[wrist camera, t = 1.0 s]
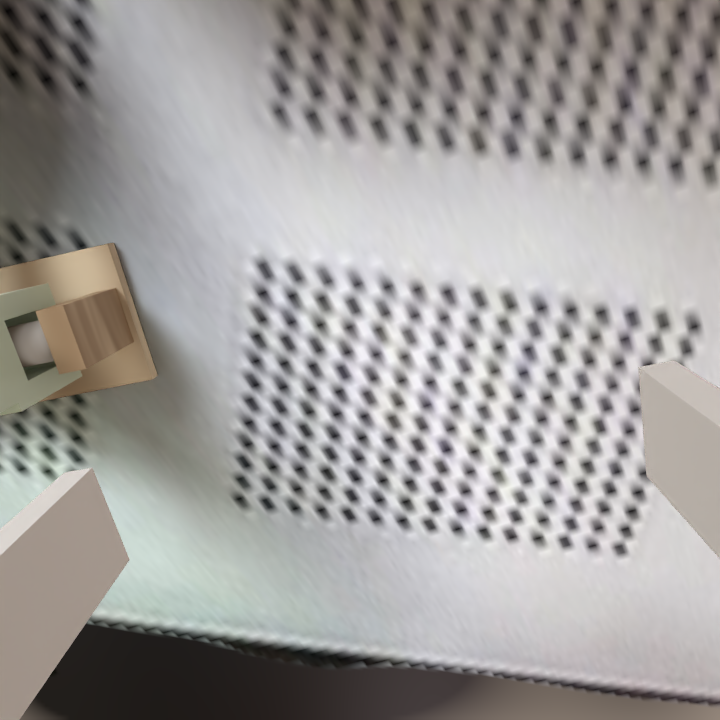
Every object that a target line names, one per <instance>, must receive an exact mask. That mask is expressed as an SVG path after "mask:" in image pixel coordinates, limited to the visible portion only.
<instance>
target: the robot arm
mask: <svg viewBox="0 0 720 720" xmlns="http://www.w3.org/2000/svg"><path fill="white" fill-rule="evenodd" d="M638 369H639V382H640V395H641V408H642V421H643V434H644V447H645V460H646V473H647V477H648V478H649V479H650V480H651V481H652V483H653V484H654V485H655V486H656V487H657V488H658V489H659V490H660V492H661V493H662V494H663V495H664V496H665V497H666V498H667V500H668V501H669V502H670V503H671V504H672V505H673V506H674V507H675V509H676V510H677V511H678V512H679V513H680V514H681V515H682V517H683V518H684V519H685V520H686V521H687V522H688V523H689V524H690V526H691V527H692V528H693V529H694V530H695V531H696V532H697V534H698V535H699V536H700V537H701V538H702V539H703V540H704V541H705V543H706V544H707V545H708V546H709V547H710V548H711V549H712V550H713V552H714V553H715V554H716V555H717V556H718V557H719V558H720V389H719V388H718V387H716V386H715V385H713V384H711V383H710V382H708V381H707V380H705V379H703V378H702V377H700V376H698V375H697V374H695V373H694V372H692V371H690V370H689V369H687V368H685V367H684V366H682V365H681V364H679V363H677V362H676V361H670V362H664V363H659V364H653V365H648V366H642V367H638ZM128 561H129V557H128V555H127V552H126V550H125V547H124V545H123V542H122V540H121V537H120V535H119V533H118V530H117V528H116V525H115V523H114V520H113V518H112V515H111V513H110V510H109V508H108V505H107V503H106V500H105V498H104V495H103V493H102V490H101V488H100V486H99V483H98V481H97V478H96V476H95V473H94V471H93V468H87V469H82V470H76V471H71V472H65V473H63V474H62V475H61V476H60V477H59V478H58V479H56V480H55V481H54V482H53V483H52V484H51V485H50V486H49V487H47V488H46V489H45V490H44V491H43V492H42V493H41V494H39V495H38V496H37V497H36V498H35V499H34V500H33V501H32V502H30V503H29V504H28V505H27V506H26V507H25V508H24V509H23V510H21V511H20V512H19V513H18V514H17V515H16V516H15V517H14V518H12V519H11V520H10V521H9V522H8V523H7V524H6V525H5V526H3V527H2V528H1V529H0V720H19V719H20V718H21V716H22V715H23V713H24V712H25V710H26V709H27V708H28V706H29V705H30V703H31V702H32V700H33V699H34V697H35V696H36V695H37V693H38V692H39V690H40V689H41V687H42V686H43V684H44V683H45V682H46V680H47V679H48V677H49V676H50V674H51V673H52V671H53V670H54V669H55V667H56V666H57V664H58V663H59V661H60V660H61V658H62V657H63V656H64V654H65V653H66V651H67V650H68V648H69V647H70V645H71V644H72V642H73V641H74V639H75V638H76V637H77V635H78V634H79V632H80V631H81V629H82V628H83V627H84V625H85V624H86V622H87V621H88V619H89V618H90V616H91V615H92V613H93V612H94V611H95V609H96V608H97V606H98V605H99V603H100V602H101V600H102V599H103V598H104V596H105V595H106V593H107V592H108V590H109V589H110V587H111V586H112V585H113V583H114V582H115V580H116V579H117V577H118V576H119V574H120V573H121V571H122V570H123V569H124V567H125V566H126V564H127V563H128Z"/></svg>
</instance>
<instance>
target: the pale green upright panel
mask: <svg viewBox="0 0 720 720" xmlns="http://www.w3.org/2000/svg"><path fill="white" fill-rule="evenodd" d="M53 305H56V303H55V300H54V298H53V295H52V292H51V290H50V287H49V284H48V283H47V284H42V285H38V286H33V287H29V288H24V289H20V290H15V291H11V292H6V293H2V294H0V416H2V415H7V414H12V413H17V412H22V411H24V410H25V409H27V408H29V407H30V406H32V405H34V404H36V403H37V402H39V401H41V400H42V399H44V398H46V397H48V396H49V395H51V394H53V393H54V392H56V391H58V390H60V389H61V388H63V387H65V386H66V385H68V384H70V383H72V382H73V381H75V380H77V379H78V378H80V377H82V373H81V371H80V370H79V371H74V372H69V373H64V374H59V372H58V369H57V367H56V364H55V362H54V361H52V362H48V363H43V364H38V365H33V366H28V367H22V364H21V362H20V359H19V357H18V354H17V352H16V349H15V347H14V344H13V342H12V339H11V337H10V334H9V332H8V329H7V327H10V326H15V325H20V324H24V323H29V322H33V321H38V317H37V315H36V312H35V311H38V310H41V309H44V308H47V307H50V306H53Z"/></svg>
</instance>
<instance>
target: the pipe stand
mask: <svg viewBox="0 0 720 720" xmlns="http://www.w3.org/2000/svg"><path fill="white" fill-rule="evenodd" d="M47 283H48V284H49V287H50V290H51V292H52V295H53V298H54V300H55V303H56V305H53V306H50V307H47V308H44V309H41V310H38V311H35V312H36V315H37V317H38V321H33V322H29V323H24V324H20V325H15V326H10V327H7V329H8V332H9V334H10V337H11V339H12V342H13V344H14V347H15V349H16V352H17V354H18V357H19V359H20V362H21V364H22V367H28V366H33V365H38V364H43V363H48V362H52V361H54V362H55V364H56V367H57V369H58V372H59V374H64V373H69V372H74V371H79V370H80V371H81V373H82V377H80V378H78V379H77V380H75V381H73V382H72V383H70V384H68V385H66V386H65V387H63V388H61V389H60V390H58V391H56V392H54V393H53V394H51V395H49V396H48V397H46V398H44V399H42V400H41V401H46V400H51V399H56V398H61V397H66V396H71V395H76V394H81V393H87V392H92V391H97V390H102V389H107V388H112V387H117V386H122V385H127V384H132V383H137V382H142V381H147V380H152V379H154V378H155V377H157V376H158V375H157V372H156V369H155V366H154V363H153V360H152V357H151V354H150V351H149V348H148V345H147V342H146V339H145V336H144V333H143V330H142V327H141V324H140V321H139V318H138V315H137V312H136V309H135V306H134V303H133V299H132V296H131V293H130V290H129V287H128V284H127V281H126V278H125V275H124V272H123V269H122V266H121V263H120V260H119V257H118V254H117V251H116V248H115V245H114V243H109V244H104V245H100V246H96V247H91V248H87V249H82V250H78V251H74V252H69V253H65V254H61V255H56V256H52V257H47V258H43V259H39V260H34V261H30V262H25V263H21V264H17V265H12V266H8V267H4V268H0V294H2V293H6V292H11V291H15V290H20V289H24V288H29V287H33V286H38V285H42V284H47ZM41 401H39V402H41Z"/></svg>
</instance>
